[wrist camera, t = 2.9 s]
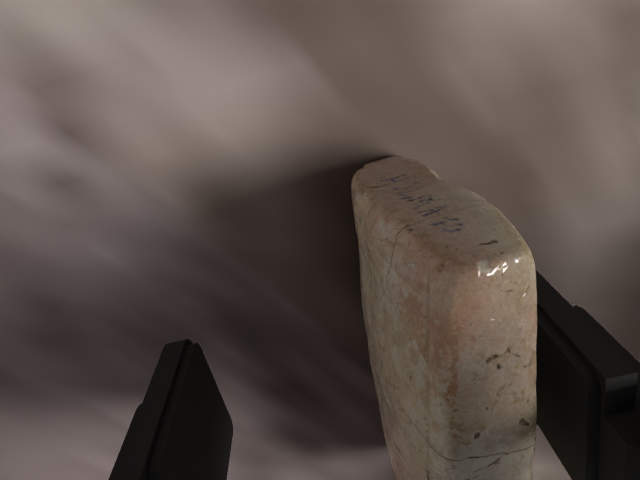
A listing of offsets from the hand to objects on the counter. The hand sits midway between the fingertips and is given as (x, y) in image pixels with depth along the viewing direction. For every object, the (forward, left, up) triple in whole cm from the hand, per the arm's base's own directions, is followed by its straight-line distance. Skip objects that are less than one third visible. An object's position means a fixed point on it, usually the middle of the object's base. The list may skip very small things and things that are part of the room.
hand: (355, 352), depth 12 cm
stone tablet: (-2, +2, -2) cm, 3 cm away
